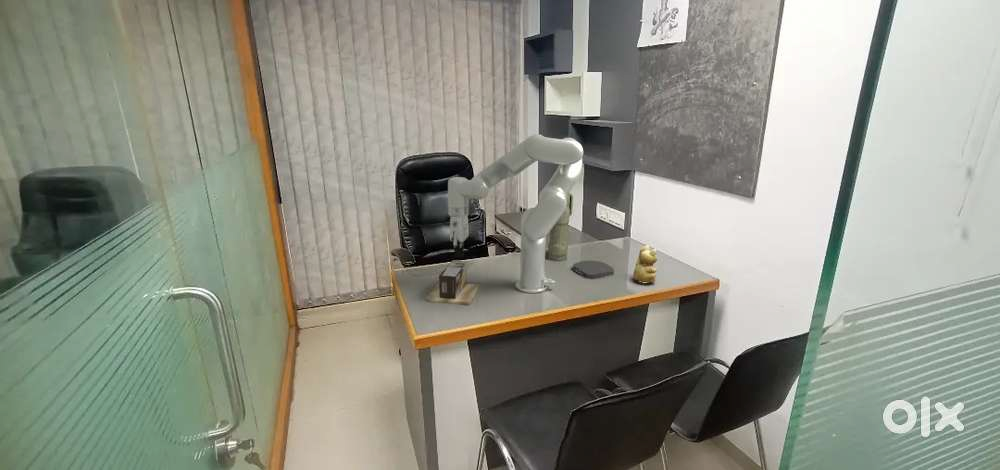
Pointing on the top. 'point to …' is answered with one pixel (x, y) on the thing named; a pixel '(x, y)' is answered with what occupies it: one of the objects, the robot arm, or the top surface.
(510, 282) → the top surface
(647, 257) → the decorative figurine
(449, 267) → the coffee box
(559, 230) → the thermos
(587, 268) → the media streaming box
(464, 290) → the board
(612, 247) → the top surface
